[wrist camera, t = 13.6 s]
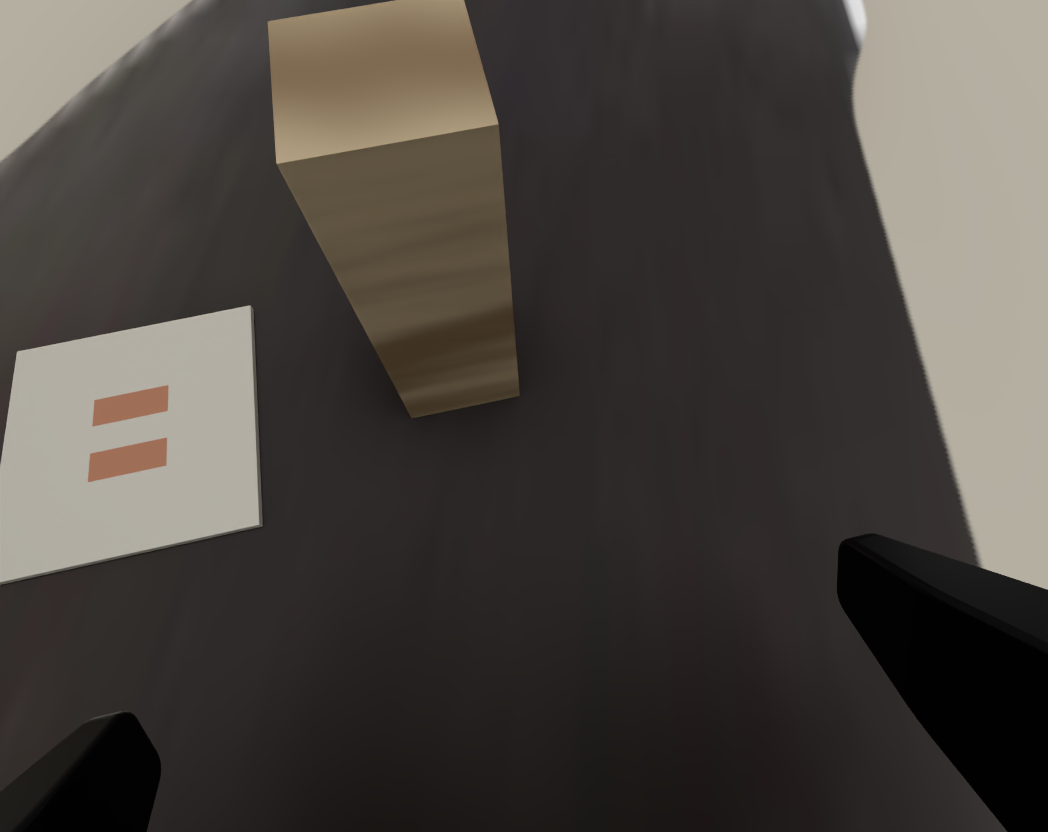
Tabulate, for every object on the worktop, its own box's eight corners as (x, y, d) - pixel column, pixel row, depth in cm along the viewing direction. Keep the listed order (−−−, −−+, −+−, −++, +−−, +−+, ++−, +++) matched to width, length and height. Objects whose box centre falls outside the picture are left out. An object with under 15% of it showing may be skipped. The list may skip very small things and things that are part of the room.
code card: (262, 526, 22) (259, 524, 21) (-10, 586, 21) (-18, 586, 21) (253, 309, 26) (250, 305, 25) (22, 355, 25) (16, 351, 25)
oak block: (519, 395, 24) (498, 124, 12) (411, 418, 23) (276, 163, 11) (498, 306, 25) (461, -10, 13) (397, 325, 25) (267, 21, 13)
